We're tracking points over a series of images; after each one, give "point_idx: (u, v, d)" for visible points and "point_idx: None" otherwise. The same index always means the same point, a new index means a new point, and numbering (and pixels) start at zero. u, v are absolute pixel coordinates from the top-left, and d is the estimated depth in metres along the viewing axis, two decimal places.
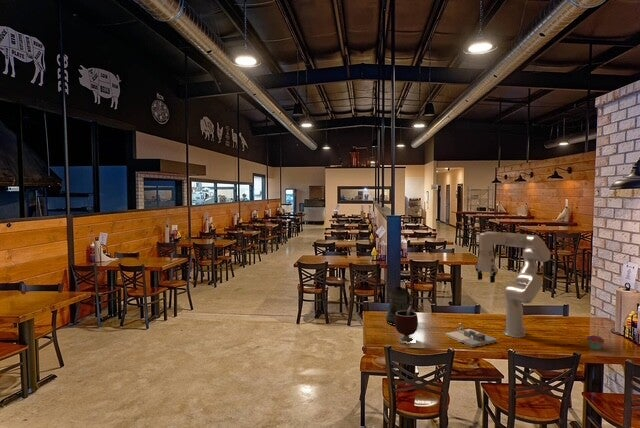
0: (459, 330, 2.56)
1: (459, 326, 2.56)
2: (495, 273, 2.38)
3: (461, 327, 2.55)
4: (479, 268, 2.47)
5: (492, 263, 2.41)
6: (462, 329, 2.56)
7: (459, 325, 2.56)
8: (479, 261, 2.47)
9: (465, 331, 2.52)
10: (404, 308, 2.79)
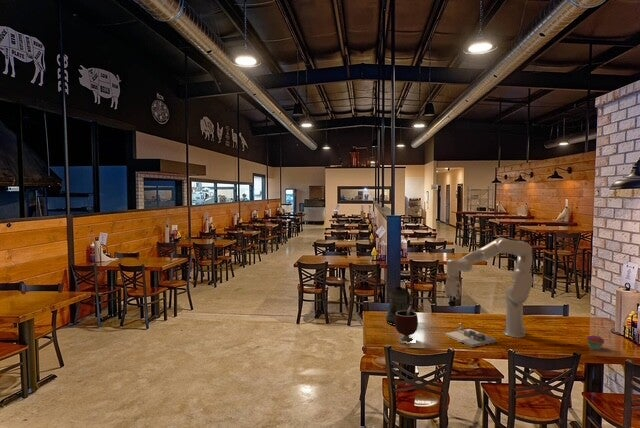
0: (459, 330, 2.56)
1: (459, 326, 2.56)
2: (454, 299, 2.59)
3: (461, 327, 2.55)
4: (446, 292, 2.64)
5: (457, 288, 2.57)
6: (462, 329, 2.56)
7: (459, 325, 2.56)
8: (446, 286, 2.64)
9: (465, 331, 2.52)
10: (404, 308, 2.79)
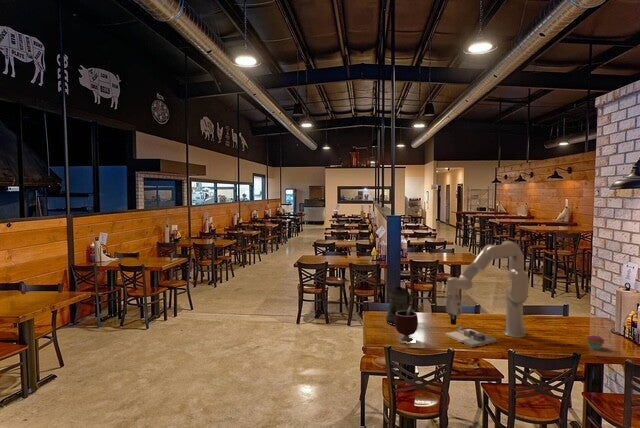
0: (459, 330, 2.56)
1: (459, 326, 2.56)
2: (455, 317, 2.60)
3: (461, 327, 2.55)
4: (447, 310, 2.64)
5: (458, 306, 2.58)
6: (462, 329, 2.56)
7: (459, 325, 2.56)
8: (447, 304, 2.64)
9: (465, 331, 2.52)
10: (404, 308, 2.79)
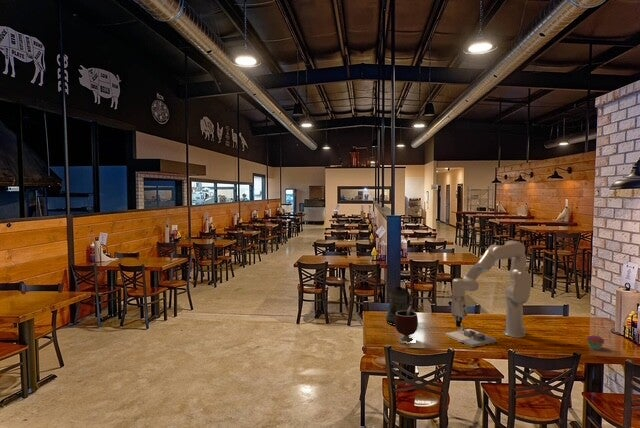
0: (460, 331, 2.55)
1: None
2: (461, 319, 2.55)
3: (462, 328, 2.54)
4: (452, 312, 2.60)
5: (464, 308, 2.53)
6: (463, 330, 2.54)
7: None
8: (452, 305, 2.60)
9: None
10: (404, 308, 2.79)
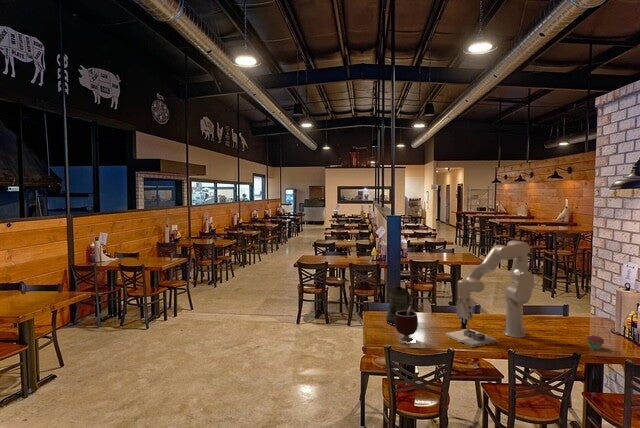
0: None
1: (466, 329, 2.51)
2: (466, 321, 2.51)
3: (468, 330, 2.50)
4: (457, 314, 2.56)
5: (469, 310, 2.49)
6: (469, 332, 2.50)
7: (466, 328, 2.51)
8: (457, 307, 2.55)
9: (472, 334, 2.47)
10: (404, 308, 2.79)
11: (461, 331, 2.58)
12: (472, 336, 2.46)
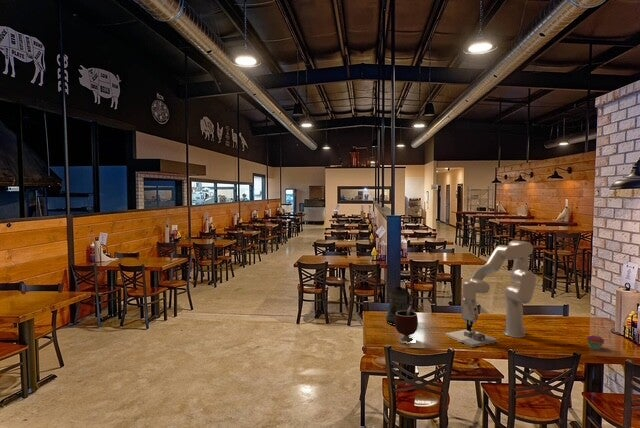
0: (471, 335, 2.47)
1: (471, 331, 2.47)
2: (472, 323, 2.47)
3: (473, 332, 2.46)
4: (463, 315, 2.52)
5: (475, 312, 2.45)
6: None
7: (471, 330, 2.47)
8: (462, 309, 2.51)
9: None
10: (404, 308, 2.79)
11: (461, 331, 2.58)
12: None
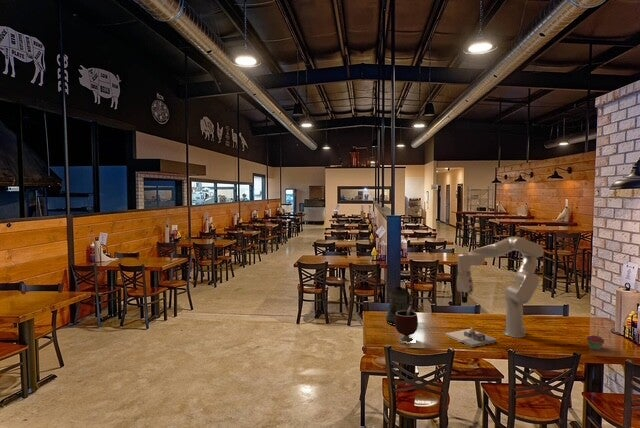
0: (471, 335, 2.47)
1: (471, 331, 2.47)
2: (467, 294, 2.50)
3: (473, 332, 2.46)
4: (458, 288, 2.55)
5: (470, 283, 2.48)
6: None
7: (471, 330, 2.47)
8: (458, 281, 2.55)
9: None
10: (404, 308, 2.79)
11: (461, 331, 2.58)
12: None
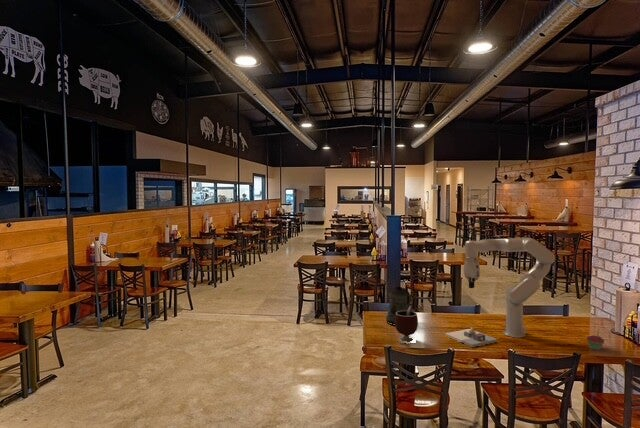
0: (471, 335, 2.47)
1: (471, 331, 2.47)
2: (474, 280, 2.59)
3: (473, 332, 2.46)
4: (465, 274, 2.64)
5: (477, 269, 2.57)
6: None
7: (471, 330, 2.47)
8: (465, 267, 2.63)
9: None
10: (404, 308, 2.79)
11: (461, 331, 2.58)
12: None
